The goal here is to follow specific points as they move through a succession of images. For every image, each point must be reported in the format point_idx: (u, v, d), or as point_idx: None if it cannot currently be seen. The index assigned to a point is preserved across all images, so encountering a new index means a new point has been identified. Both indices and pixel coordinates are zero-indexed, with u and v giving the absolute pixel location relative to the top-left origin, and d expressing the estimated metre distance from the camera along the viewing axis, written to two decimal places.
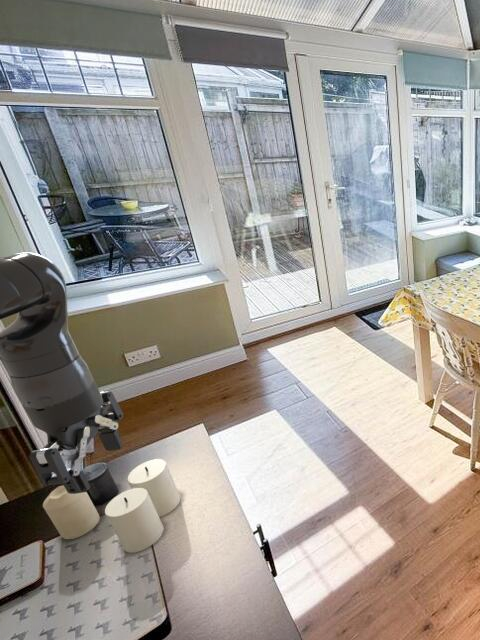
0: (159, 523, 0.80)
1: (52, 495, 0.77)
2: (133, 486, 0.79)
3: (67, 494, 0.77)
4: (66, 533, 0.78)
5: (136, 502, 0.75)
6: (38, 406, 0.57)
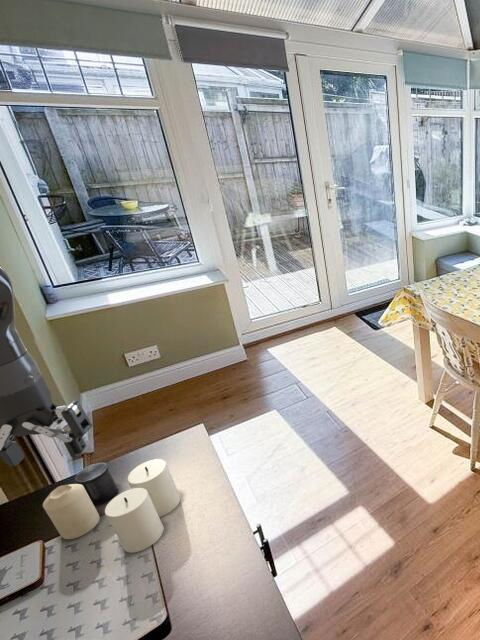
0: (159, 523, 0.80)
1: (52, 495, 0.77)
2: (133, 486, 0.79)
3: (67, 494, 0.77)
4: (66, 533, 0.78)
5: (136, 502, 0.75)
6: None
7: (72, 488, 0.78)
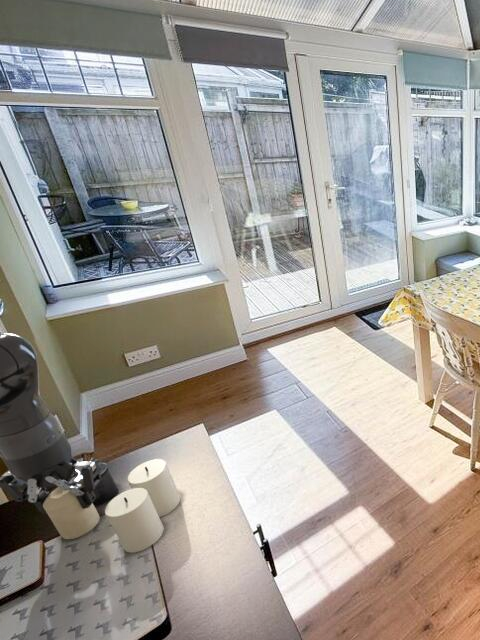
0: (159, 523, 0.80)
1: (52, 495, 0.77)
2: (133, 486, 0.79)
3: (67, 494, 0.77)
4: (66, 533, 0.78)
5: (136, 502, 0.75)
6: None
7: None
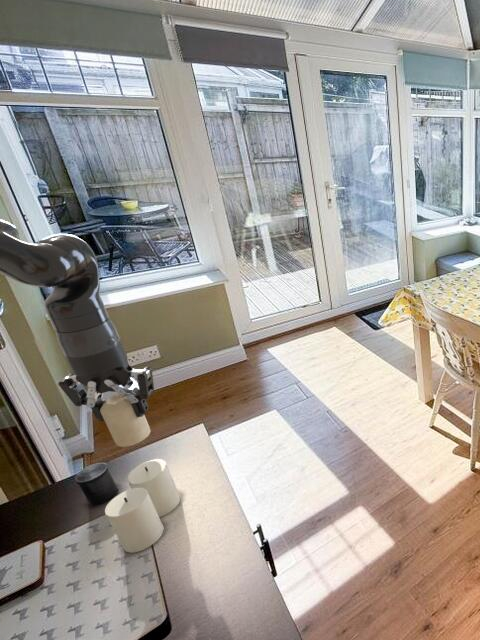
0: (159, 523, 0.80)
1: (108, 402, 0.80)
2: (133, 486, 0.79)
3: (123, 401, 0.80)
4: (121, 440, 0.81)
5: (136, 502, 0.75)
6: None
7: None
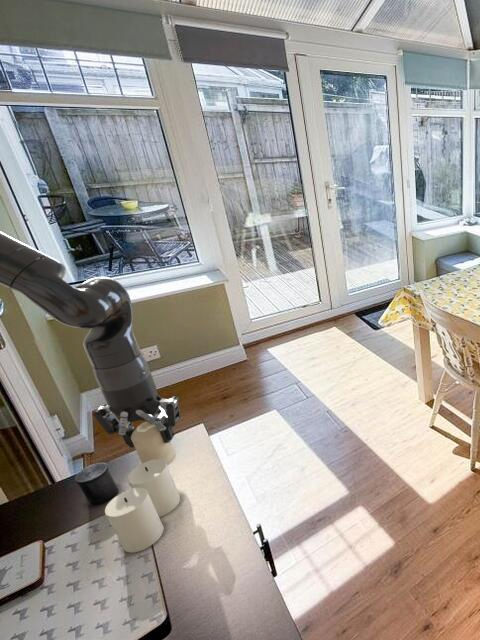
0: (159, 523, 0.80)
1: (138, 429, 0.85)
2: (133, 486, 0.79)
3: (152, 428, 0.85)
4: None
5: (136, 502, 0.75)
6: None
7: None
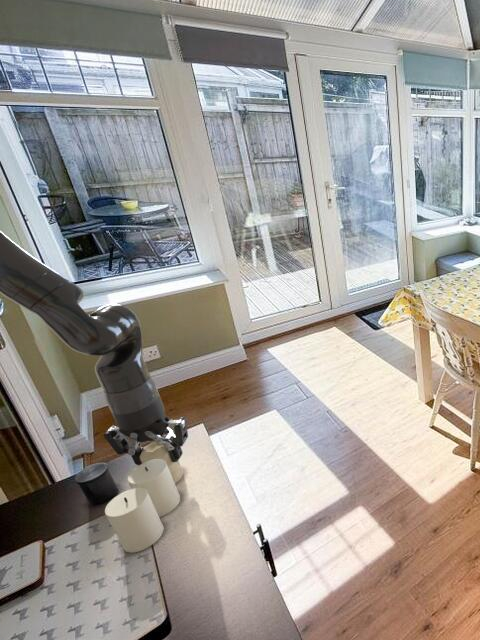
0: (159, 523, 0.80)
1: (147, 449, 0.87)
2: (133, 486, 0.79)
3: (160, 448, 0.87)
4: None
5: (136, 502, 0.75)
6: None
7: None
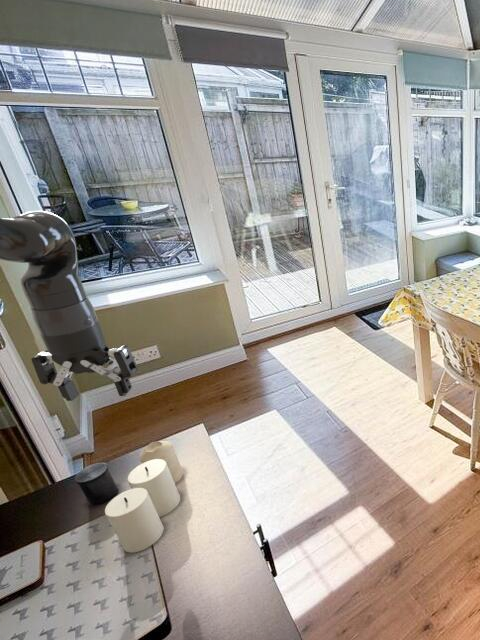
0: (159, 523, 0.80)
1: (147, 449, 0.87)
2: (133, 486, 0.79)
3: (160, 448, 0.87)
4: None
5: (136, 502, 0.75)
6: None
7: (163, 444, 0.89)
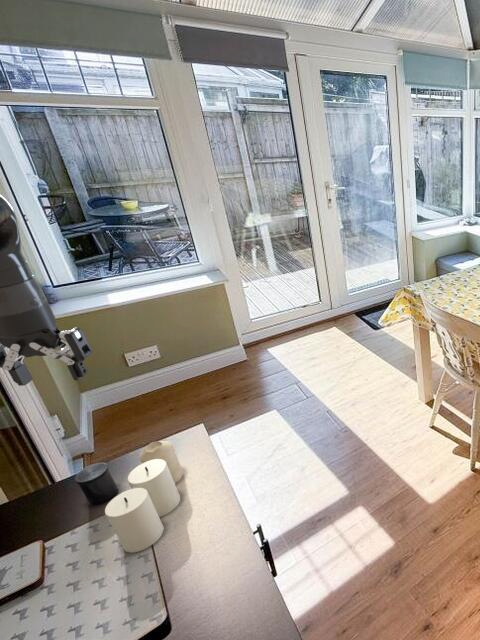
0: (159, 523, 0.80)
1: (147, 449, 0.87)
2: (133, 486, 0.79)
3: (160, 448, 0.87)
4: None
5: (136, 502, 0.75)
6: None
7: (163, 444, 0.89)
